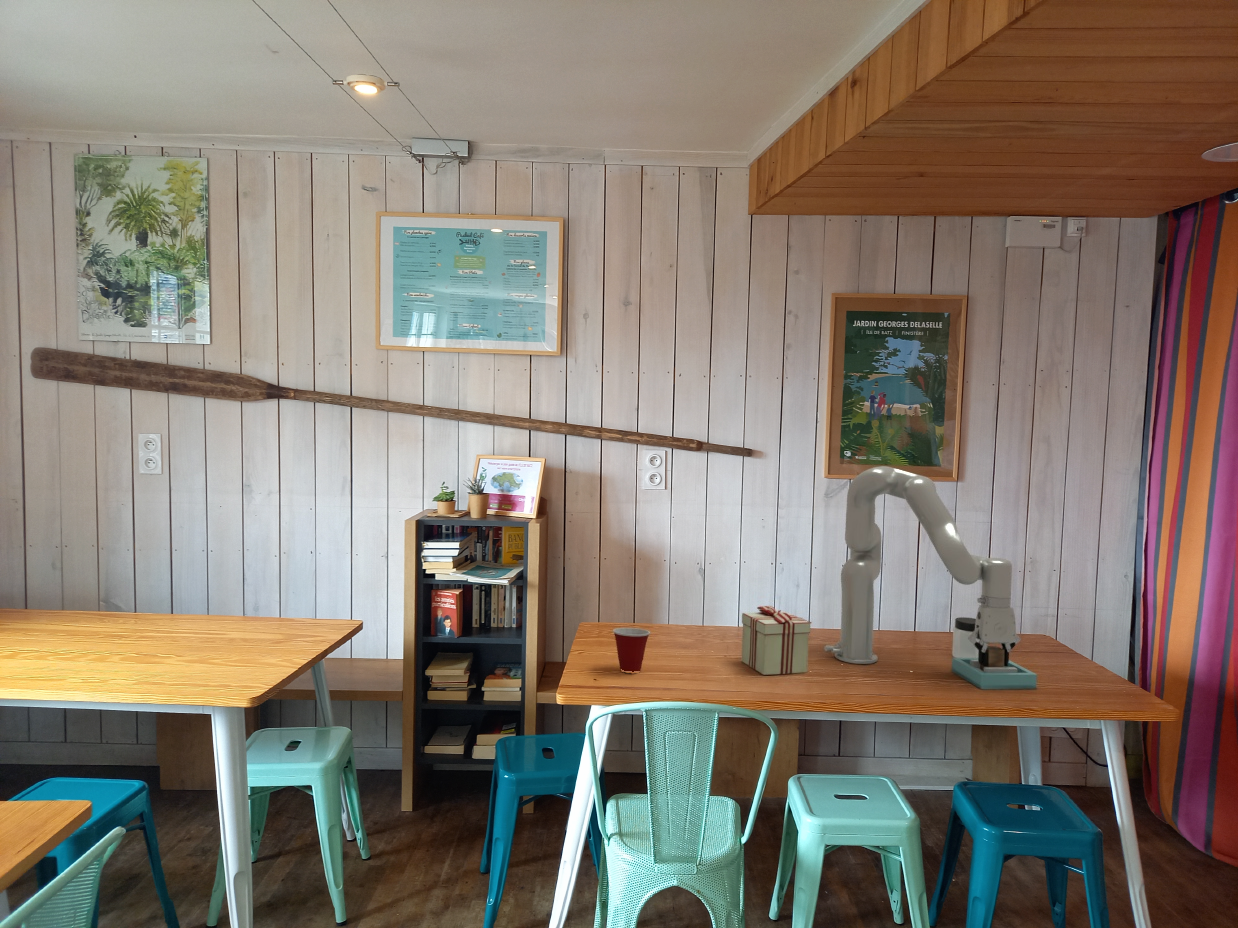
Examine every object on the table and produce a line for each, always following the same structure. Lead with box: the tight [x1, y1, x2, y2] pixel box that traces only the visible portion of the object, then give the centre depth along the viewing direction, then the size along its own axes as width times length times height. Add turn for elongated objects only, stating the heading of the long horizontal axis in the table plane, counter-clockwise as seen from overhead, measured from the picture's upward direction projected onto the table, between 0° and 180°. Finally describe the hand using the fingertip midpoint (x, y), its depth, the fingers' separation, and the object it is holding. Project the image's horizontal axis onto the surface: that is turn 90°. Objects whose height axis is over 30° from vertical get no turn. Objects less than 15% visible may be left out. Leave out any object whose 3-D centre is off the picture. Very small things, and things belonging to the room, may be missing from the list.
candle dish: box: [951, 657, 1038, 690], centre depth 224 cm, size 16×16×4 cm
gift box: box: [740, 605, 812, 676], centre depth 233 cm, size 17×18×17 cm
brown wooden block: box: [980, 645, 1004, 671], centre depth 224 cm, size 4×4×8 cm
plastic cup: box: [612, 627, 651, 672], centre depth 226 cm, size 11×11×12 cm
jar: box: [951, 616, 980, 658], centre depth 245 cm, size 9×8×12 cm
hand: (993, 664), depth 224 cm, fingers open, 5 cm apart
